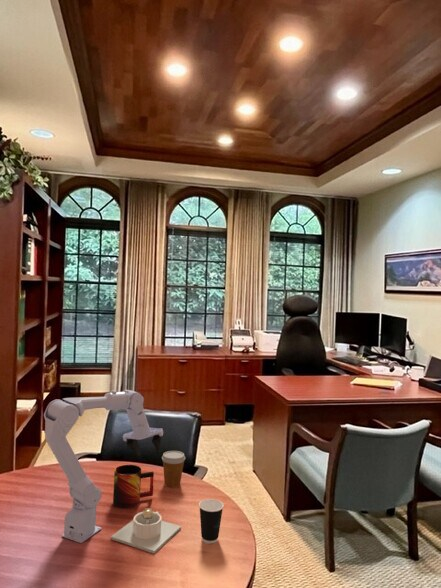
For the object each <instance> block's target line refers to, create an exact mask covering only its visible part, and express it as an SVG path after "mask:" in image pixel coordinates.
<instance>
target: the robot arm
mask: <svg viewBox="0 0 441 588" xmlns="http://www.w3.org/2000/svg"><path fill="white" fill-rule="evenodd" d="M144 401H145V398H144V396H142V394H141V393H140V392H138V391H134V390H132V389H131V390H130V389H123V391H117V390H114V389H113V390H111V391H110V392H106V393H105V394H104V396H88V397H85V396H84V397H64V398H62V399H54V400H52V401H50V402H49V403H48V405H47V406H46V408H45V411H44V413H43V417H44V420H45V423H44V424H45V425H44V427H45V428H44V429H45V430H44V439H45V441H46V443H47V444H48V446H49V448H50V450H51V452H52V454H53V455H54V457H55V459H56V461H57V462H58V464H59V466H60V468H61V469H62V472H63V473H64V475H65V476H66V478H67V480H68V482H67V485H68V488H69V495H70V497H72V507H71V508H70V510H69V511H67V513H66V514H65V516H64V527H63V528H64V529H63V533H62V535H61V537H63V538H66V539H69V540H71V541H74V542H76V543H80V544H82V543H84V542H85V541H87V540H89V538H91V537H92V536H94V535H96V533H98V532H99V531H101V530H102V527H100V526H97V525H96V523H97V522H96V521H97V506H98V504H99V503H100V501H101V499H102V491H101V489H100V487H98V486H96V485H95V484H94V482H93V481H92V480H91V478H90V477H89V476H87V474H86V472H85V470H84V468H83V467H82V465H81V462H80V460H79V459H78V457H77V456H76V454H75V452H74V450H73V447H71V445H70V443H69V441H68V440H67V436H68V434H69V433H70V431H71V430H72V428H73V427H74V425H75V424H76V423H77V421H78V420H79V417H82V416H83V415H84V412H85V411H87V410H93V409H100V408H104V409H105V410H106V411H116V410H126V411H125V412H126V414H127V417H128V420H129V424H130V425H131V429H132V431H128V432H126V433H124V434H122V441H124V442H126V443H125V444H126V446H127V448H129V449H130V450H131V451H133V453H134V454H135V456H137V458H140V457H141V455H142V452H141V449H140V446H139V441H140V440H145V439H147V438H151V437H152V440H151V442H152V444H153V446H154V448H155V452H156V454H157V455H160V454H161V452H162V448H161V441H162V437H163V435H164V430H163V428H160V427H159V428H156V427H150V425H149V422H148V419H147V416H146V413H145V410H144Z"/></svg>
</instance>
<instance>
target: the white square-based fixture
mask: <svg viewBox="0 0 441 588" xmlns="http://www.w3.org/2000/svg"><path fill="white" fill-rule="evenodd" d="M162 518H163V517H162V515H161V514H160V513H159V511H153V517H152V518H151V519H149V524H146V519H144V518H143V511H141V512H137V514H135V515H134V516H133V519H132V520H131V521H129V522H128V523H127V524H125V525H124V526H123V527H121V528H120V529H119V530H117V532H115V533H114V534H112V535H111V536H110V540H112V541H116V542H119V543H122V544H124V545H127V546H131V547H133V548H136V549H138V550H143V551H145V552H148V553H150V554H156V553H157V552H158V551H159V550H160V549H161V548H162V547H164V545H165V544H166V543H167V542H169V541H170V540H171V539H172V538H173V537H174V536H175V535H176V534H177V533H179V531H180V530H182V526H181V525H177V524H175V523H172V522H168V521H164V520H163V519H162Z"/></svg>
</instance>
